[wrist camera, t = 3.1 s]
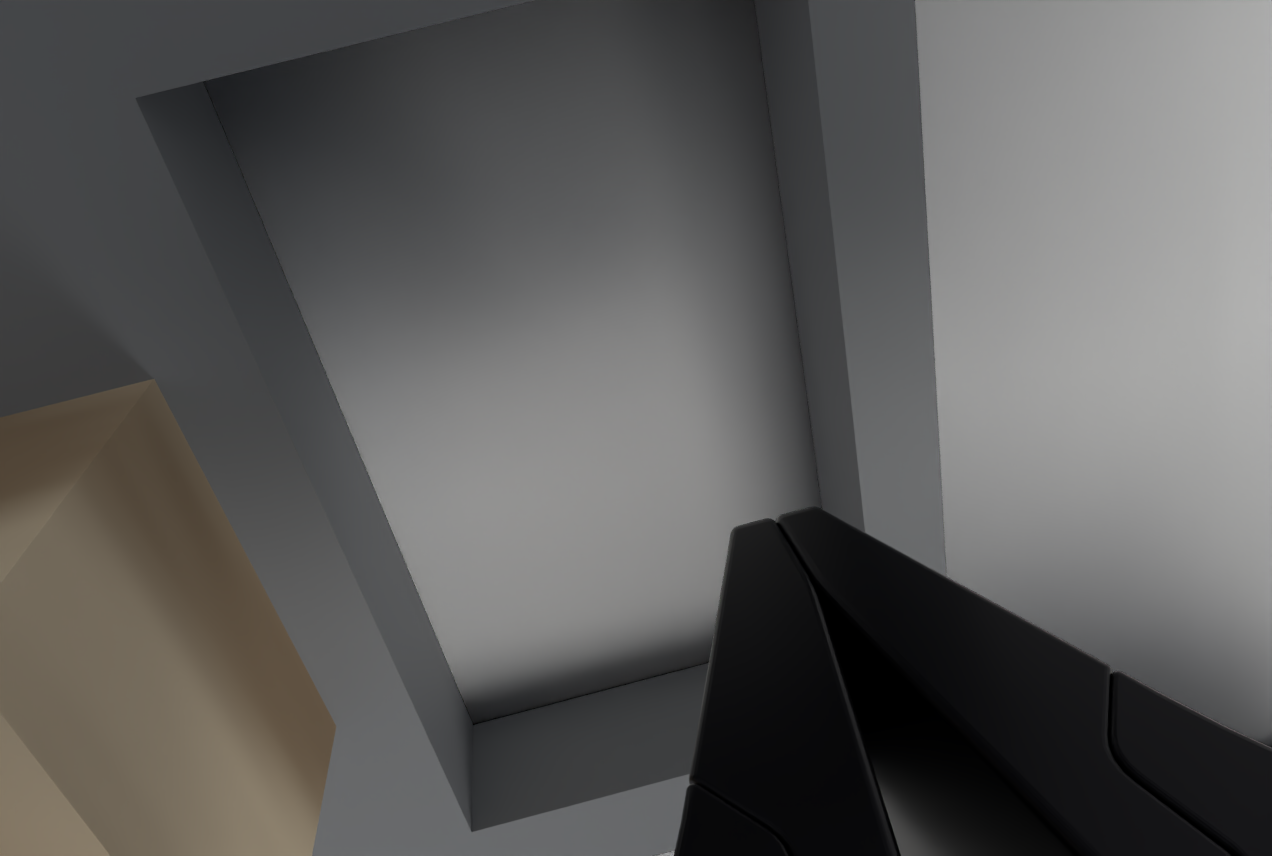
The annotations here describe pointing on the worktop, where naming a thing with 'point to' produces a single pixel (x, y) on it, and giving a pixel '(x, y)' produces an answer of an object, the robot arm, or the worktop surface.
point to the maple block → (141, 651)
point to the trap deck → (316, 429)
